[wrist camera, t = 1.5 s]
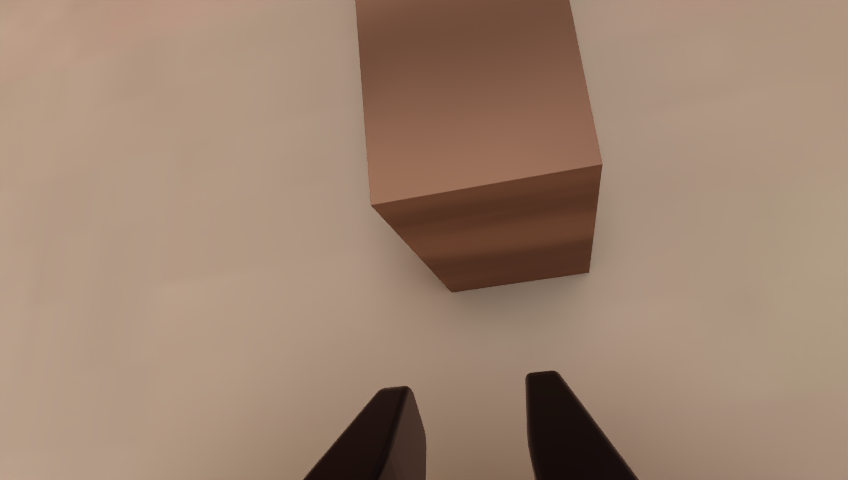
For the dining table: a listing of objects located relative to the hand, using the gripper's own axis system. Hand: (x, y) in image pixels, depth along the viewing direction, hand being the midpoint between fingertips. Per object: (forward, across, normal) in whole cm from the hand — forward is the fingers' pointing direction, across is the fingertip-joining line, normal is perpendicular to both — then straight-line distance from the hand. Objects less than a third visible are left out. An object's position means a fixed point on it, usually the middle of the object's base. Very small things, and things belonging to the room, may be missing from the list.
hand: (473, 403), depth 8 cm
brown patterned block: (+19, 0, 0) cm, 19 cm away
